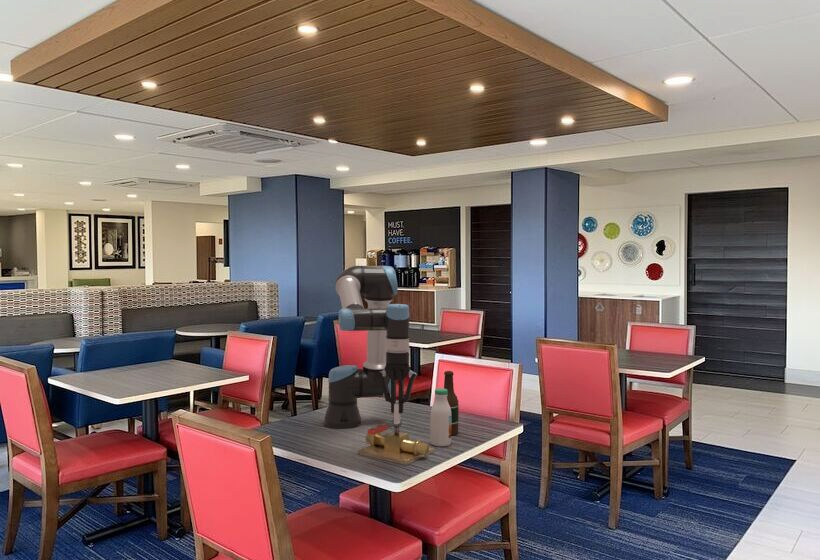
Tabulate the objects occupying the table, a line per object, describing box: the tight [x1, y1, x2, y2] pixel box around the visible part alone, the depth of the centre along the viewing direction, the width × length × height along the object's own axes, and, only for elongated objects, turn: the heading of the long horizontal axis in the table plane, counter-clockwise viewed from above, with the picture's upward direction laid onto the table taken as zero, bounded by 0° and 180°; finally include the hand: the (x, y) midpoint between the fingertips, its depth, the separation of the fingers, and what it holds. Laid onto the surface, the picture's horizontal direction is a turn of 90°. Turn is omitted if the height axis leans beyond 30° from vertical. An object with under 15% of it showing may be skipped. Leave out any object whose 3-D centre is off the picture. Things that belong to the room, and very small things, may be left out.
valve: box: [357, 426, 436, 466], centre depth 217 cm, size 24×18×10 cm
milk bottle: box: [429, 387, 452, 447], centre depth 228 cm, size 8×8×20 cm
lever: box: [367, 419, 402, 435], centre depth 211 cm, size 17×3×2 cm, turn 146°
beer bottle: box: [443, 370, 459, 436], centre depth 242 cm, size 8×8×24 cm
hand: (397, 423), depth 205 cm, fingers closed
